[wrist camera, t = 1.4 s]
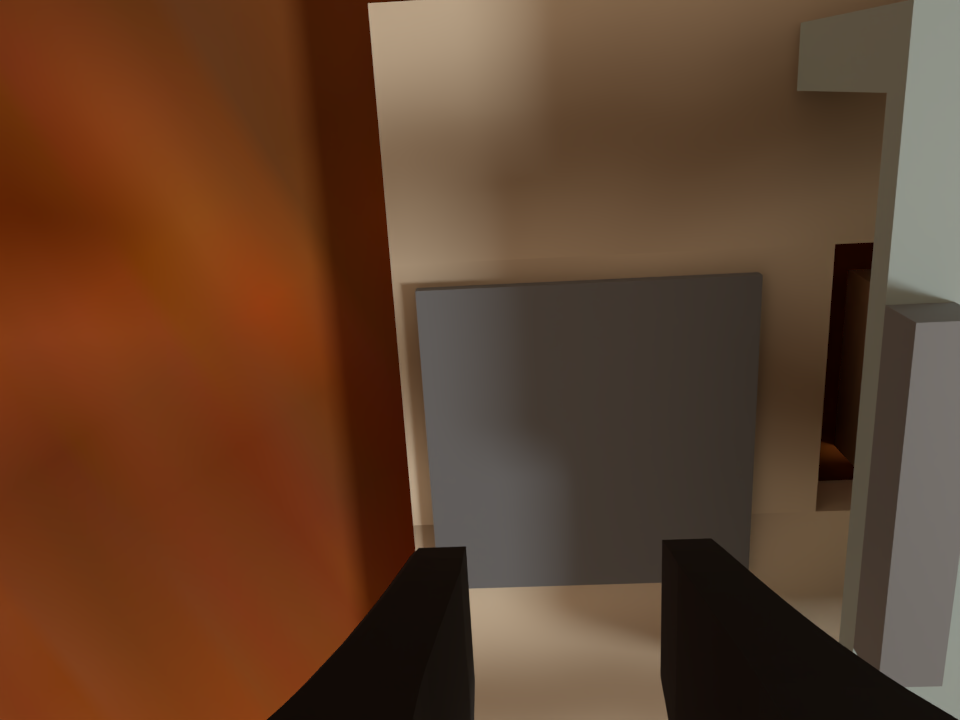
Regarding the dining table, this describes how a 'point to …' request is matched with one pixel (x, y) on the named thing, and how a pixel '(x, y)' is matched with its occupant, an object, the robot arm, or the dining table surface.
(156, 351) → the dining table surface
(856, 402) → the walnut block
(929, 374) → the sled cover
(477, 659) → the puzzle board
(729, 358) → the slate pad
